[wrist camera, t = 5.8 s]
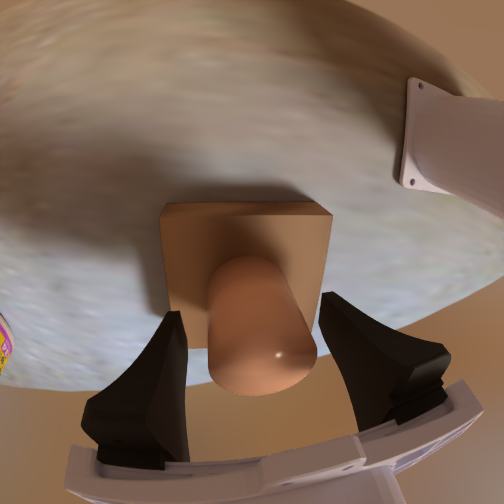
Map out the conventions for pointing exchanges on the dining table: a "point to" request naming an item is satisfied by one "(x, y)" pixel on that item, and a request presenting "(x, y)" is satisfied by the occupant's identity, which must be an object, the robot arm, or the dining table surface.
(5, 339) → the supplement bottle
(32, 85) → the dining table surface
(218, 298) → the tan rounded cylinder
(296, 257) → the walnut board
